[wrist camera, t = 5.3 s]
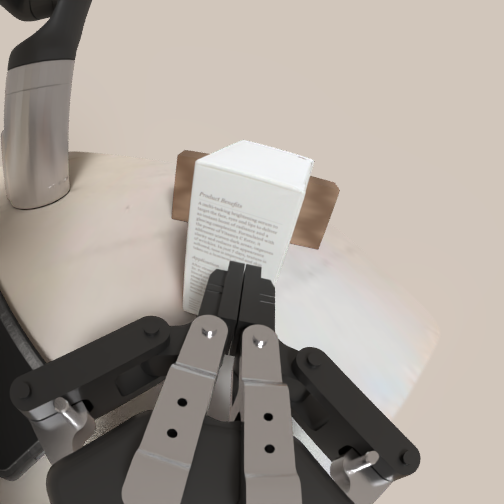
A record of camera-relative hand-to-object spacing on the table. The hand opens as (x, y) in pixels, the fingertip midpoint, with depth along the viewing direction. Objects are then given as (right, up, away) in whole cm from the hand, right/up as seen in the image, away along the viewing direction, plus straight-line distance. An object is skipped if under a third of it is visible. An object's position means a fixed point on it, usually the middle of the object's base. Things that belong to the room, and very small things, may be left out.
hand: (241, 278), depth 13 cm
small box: (-1, -2, +8) cm, 8 cm away
